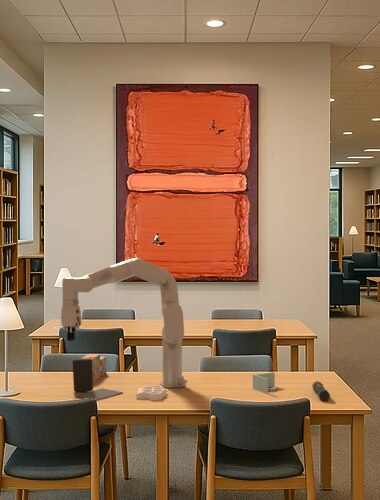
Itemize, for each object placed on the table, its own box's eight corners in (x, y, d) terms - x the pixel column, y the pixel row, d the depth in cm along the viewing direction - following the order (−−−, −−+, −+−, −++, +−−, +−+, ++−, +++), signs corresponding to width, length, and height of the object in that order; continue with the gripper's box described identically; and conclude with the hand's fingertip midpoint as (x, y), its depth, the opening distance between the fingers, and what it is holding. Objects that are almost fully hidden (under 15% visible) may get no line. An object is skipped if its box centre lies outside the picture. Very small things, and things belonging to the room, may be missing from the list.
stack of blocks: (95, 373, 402) (95, 350, 401) (106, 373, 400) (106, 350, 400) (80, 381, 381) (80, 357, 380) (92, 382, 379) (92, 358, 379)
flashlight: (319, 401, 336) (319, 390, 336) (311, 390, 358) (311, 380, 358) (330, 401, 336) (330, 390, 336) (321, 390, 358) (321, 380, 358)
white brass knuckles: (138, 392, 358) (168, 391, 358) (135, 401, 340) (167, 401, 340) (137, 385, 358) (168, 385, 358) (135, 394, 340) (167, 393, 340)
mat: (123, 393, 354) (123, 392, 354) (96, 400, 340) (96, 399, 340) (102, 389, 363) (102, 388, 363) (74, 396, 348) (74, 395, 348)
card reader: (94, 390, 359) (93, 359, 360) (92, 391, 355) (91, 359, 356) (75, 390, 360) (74, 359, 361) (73, 391, 356) (72, 360, 357)
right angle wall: (266, 395, 351) (266, 379, 351) (252, 389, 362) (252, 374, 362) (287, 392, 357) (287, 376, 357) (273, 387, 368) (273, 372, 367)
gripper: (87, 303, 359) (87, 340, 360) (65, 301, 369) (66, 337, 370) (75, 304, 354) (76, 342, 354) (54, 302, 363) (54, 339, 364)
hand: (71, 340), depth 362 cm, fingers closed
